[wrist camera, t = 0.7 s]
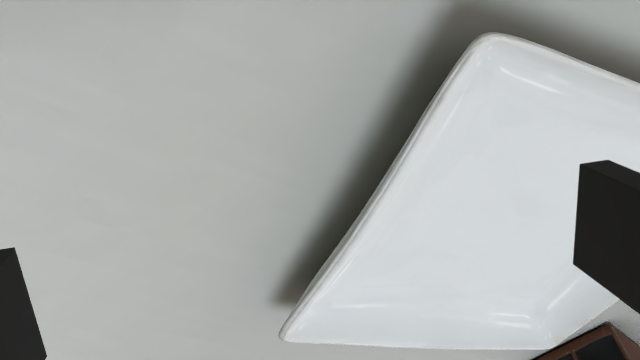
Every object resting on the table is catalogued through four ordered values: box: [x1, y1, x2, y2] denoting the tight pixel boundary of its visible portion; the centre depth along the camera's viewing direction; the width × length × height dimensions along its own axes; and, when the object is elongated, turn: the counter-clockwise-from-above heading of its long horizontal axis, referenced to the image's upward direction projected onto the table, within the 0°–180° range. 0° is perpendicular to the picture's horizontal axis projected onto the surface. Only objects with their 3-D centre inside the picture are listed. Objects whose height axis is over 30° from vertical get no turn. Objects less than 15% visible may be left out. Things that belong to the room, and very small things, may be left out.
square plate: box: [279, 32, 640, 350], centre depth 38 cm, size 27×27×4 cm
